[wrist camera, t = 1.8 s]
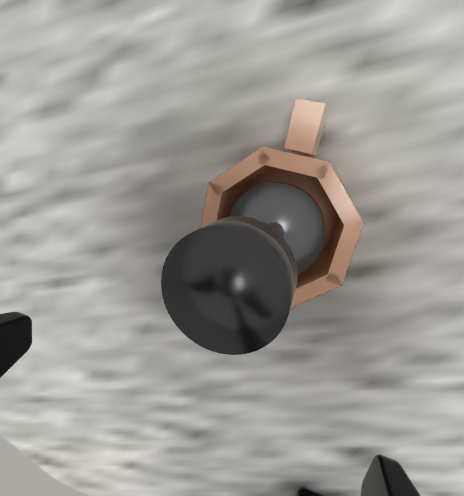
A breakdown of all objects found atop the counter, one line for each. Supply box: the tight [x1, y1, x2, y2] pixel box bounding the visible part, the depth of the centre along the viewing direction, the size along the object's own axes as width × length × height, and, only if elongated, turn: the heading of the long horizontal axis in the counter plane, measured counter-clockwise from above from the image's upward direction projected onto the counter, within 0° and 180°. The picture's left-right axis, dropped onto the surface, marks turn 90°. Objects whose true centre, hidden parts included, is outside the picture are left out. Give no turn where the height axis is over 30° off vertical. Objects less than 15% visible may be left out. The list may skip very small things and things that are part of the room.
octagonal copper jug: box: [200, 98, 364, 308], centre depth 16 cm, size 7×9×6 cm
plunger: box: [161, 182, 325, 355], centre depth 11 cm, size 4×4×8 cm
